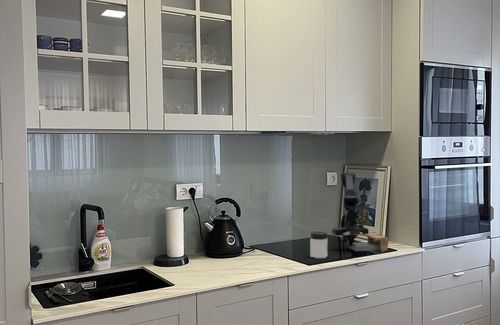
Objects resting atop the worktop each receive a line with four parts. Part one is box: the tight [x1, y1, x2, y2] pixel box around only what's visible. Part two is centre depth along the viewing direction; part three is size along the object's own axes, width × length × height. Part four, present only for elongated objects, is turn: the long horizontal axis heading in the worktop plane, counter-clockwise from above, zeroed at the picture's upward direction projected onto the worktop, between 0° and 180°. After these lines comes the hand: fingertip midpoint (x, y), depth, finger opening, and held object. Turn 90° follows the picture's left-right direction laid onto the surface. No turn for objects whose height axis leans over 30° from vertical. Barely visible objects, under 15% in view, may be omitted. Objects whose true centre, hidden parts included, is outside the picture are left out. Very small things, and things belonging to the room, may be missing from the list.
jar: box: [309, 231, 328, 259], centre depth 252 cm, size 9×8×12 cm
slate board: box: [348, 241, 380, 252], centre depth 270 cm, size 9×14×3 cm, turn 101°
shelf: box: [362, 231, 389, 252], centre depth 272 cm, size 16×7×7 cm, turn 12°
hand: (350, 247), depth 269 cm, fingers closed
